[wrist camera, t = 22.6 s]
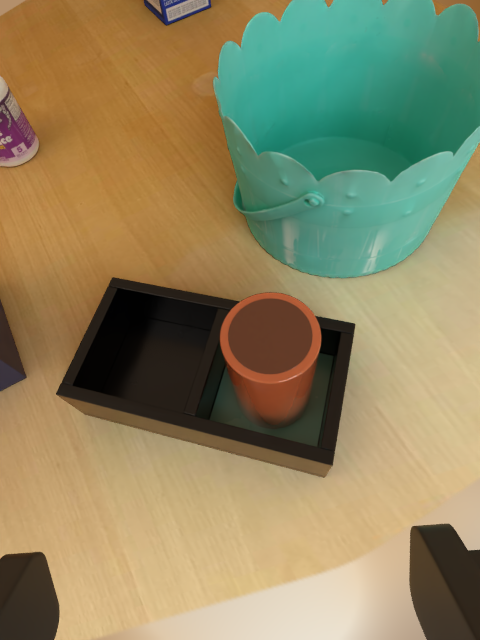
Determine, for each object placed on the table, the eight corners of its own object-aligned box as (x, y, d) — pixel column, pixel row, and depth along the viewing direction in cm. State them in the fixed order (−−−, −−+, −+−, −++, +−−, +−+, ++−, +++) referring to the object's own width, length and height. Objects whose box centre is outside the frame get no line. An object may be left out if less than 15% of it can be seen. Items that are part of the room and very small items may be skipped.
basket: (374, 330, 32) (426, 211, 21) (190, 229, 38) (153, 95, 27) (476, 175, 38) (559, 19, 27) (305, 110, 45) (313, -38, 33)
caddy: (324, 478, 27) (332, 465, 23) (84, 414, 31) (55, 394, 27) (345, 352, 31) (355, 323, 27) (131, 308, 35) (112, 276, 31)
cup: (250, 441, 28) (239, 398, 20) (225, 372, 31) (206, 310, 23) (322, 412, 29) (339, 360, 21) (292, 347, 31) (296, 278, 23)
